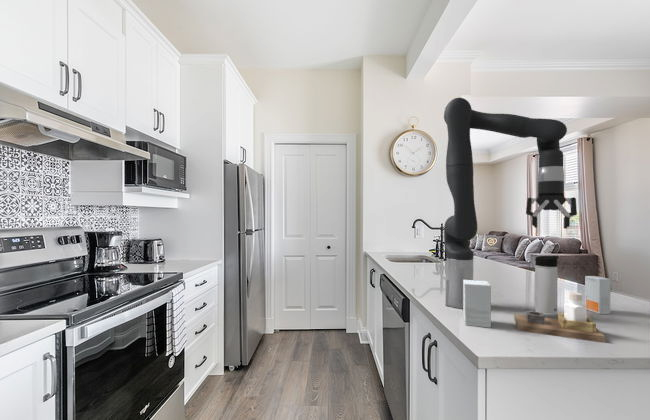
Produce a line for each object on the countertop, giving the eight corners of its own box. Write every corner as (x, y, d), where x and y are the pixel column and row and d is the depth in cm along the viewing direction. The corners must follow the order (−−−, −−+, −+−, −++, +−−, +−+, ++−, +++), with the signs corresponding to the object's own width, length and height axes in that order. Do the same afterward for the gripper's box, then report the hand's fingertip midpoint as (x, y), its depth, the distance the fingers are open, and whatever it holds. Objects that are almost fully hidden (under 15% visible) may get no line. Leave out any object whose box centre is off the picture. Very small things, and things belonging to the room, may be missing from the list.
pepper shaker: (587, 328, 94) (587, 295, 94) (574, 329, 94) (574, 295, 94) (576, 324, 98) (576, 291, 98) (563, 324, 98) (563, 291, 98)
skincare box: (584, 309, 120) (584, 275, 120) (595, 309, 120) (595, 275, 120) (599, 314, 114) (599, 279, 114) (611, 314, 114) (611, 279, 114)
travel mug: (562, 319, 108) (562, 257, 108) (539, 317, 109) (539, 256, 109) (553, 313, 114) (553, 254, 114) (531, 312, 115) (532, 254, 116)
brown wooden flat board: (517, 330, 97) (517, 316, 97) (514, 318, 108) (514, 306, 108) (604, 342, 88) (604, 327, 88) (591, 328, 99) (591, 315, 99)
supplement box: (487, 320, 106) (488, 280, 106) (491, 328, 99) (491, 285, 99) (462, 318, 108) (462, 278, 108) (464, 325, 101) (464, 283, 101)
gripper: (527, 180, 115) (527, 227, 114) (578, 179, 108) (578, 229, 108) (525, 182, 121) (525, 227, 121) (573, 181, 115) (573, 228, 115)
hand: (550, 228), depth 114 cm, fingers open, 8 cm apart
